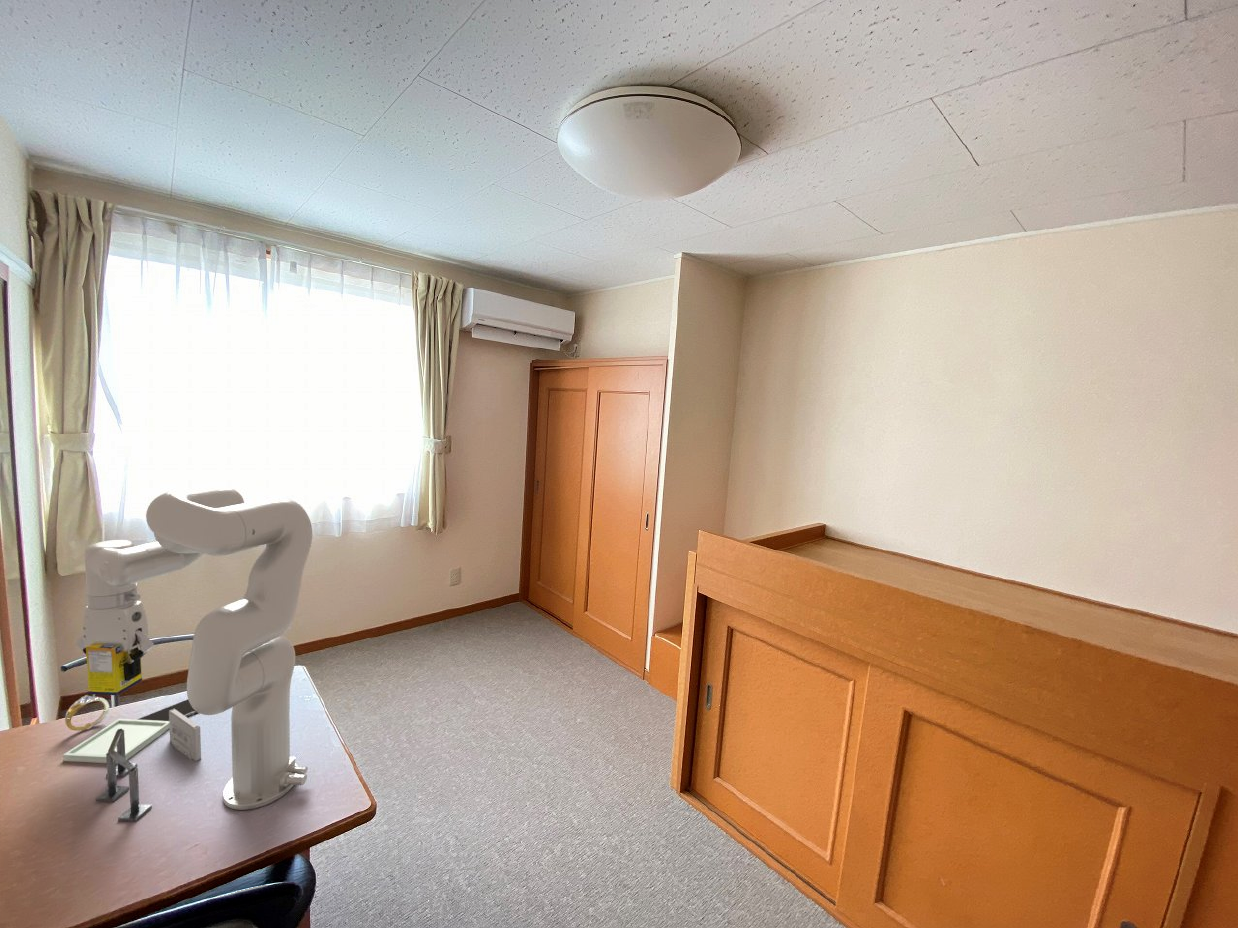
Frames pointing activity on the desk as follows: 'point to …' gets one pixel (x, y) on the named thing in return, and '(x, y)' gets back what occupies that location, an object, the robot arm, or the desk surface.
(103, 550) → the robot arm
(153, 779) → the desk surface
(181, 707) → the smartphone
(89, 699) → the ring
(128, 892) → the desk surface
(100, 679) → the supplement box
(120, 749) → the metal handrail
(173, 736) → the cassette
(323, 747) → the desk surface
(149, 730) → the tray
